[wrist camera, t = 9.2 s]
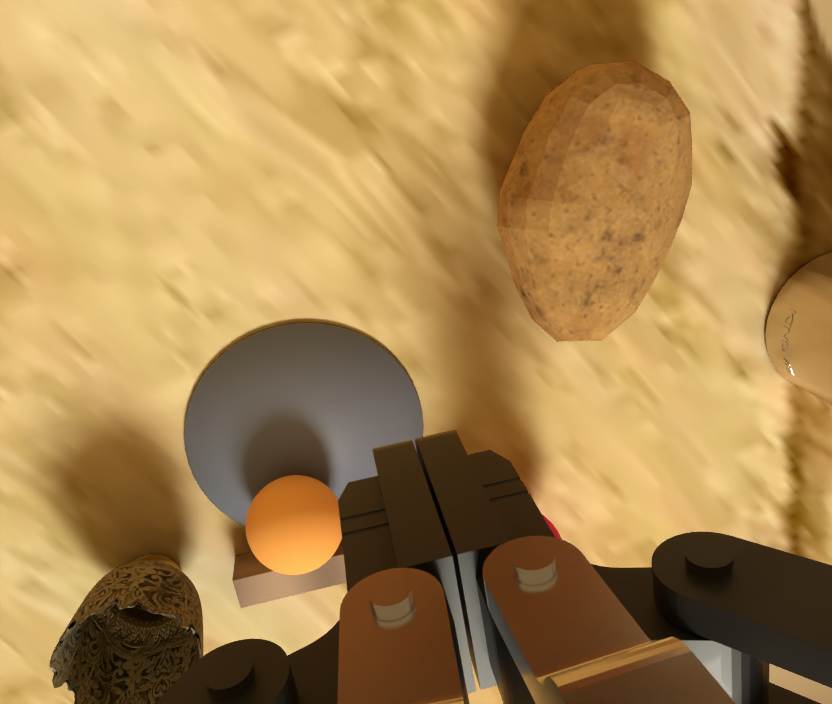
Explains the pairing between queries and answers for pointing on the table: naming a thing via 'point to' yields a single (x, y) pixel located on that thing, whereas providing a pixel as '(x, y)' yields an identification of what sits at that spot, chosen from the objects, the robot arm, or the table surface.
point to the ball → (294, 525)
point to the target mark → (296, 412)
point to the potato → (596, 197)
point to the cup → (131, 635)
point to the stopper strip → (282, 579)
